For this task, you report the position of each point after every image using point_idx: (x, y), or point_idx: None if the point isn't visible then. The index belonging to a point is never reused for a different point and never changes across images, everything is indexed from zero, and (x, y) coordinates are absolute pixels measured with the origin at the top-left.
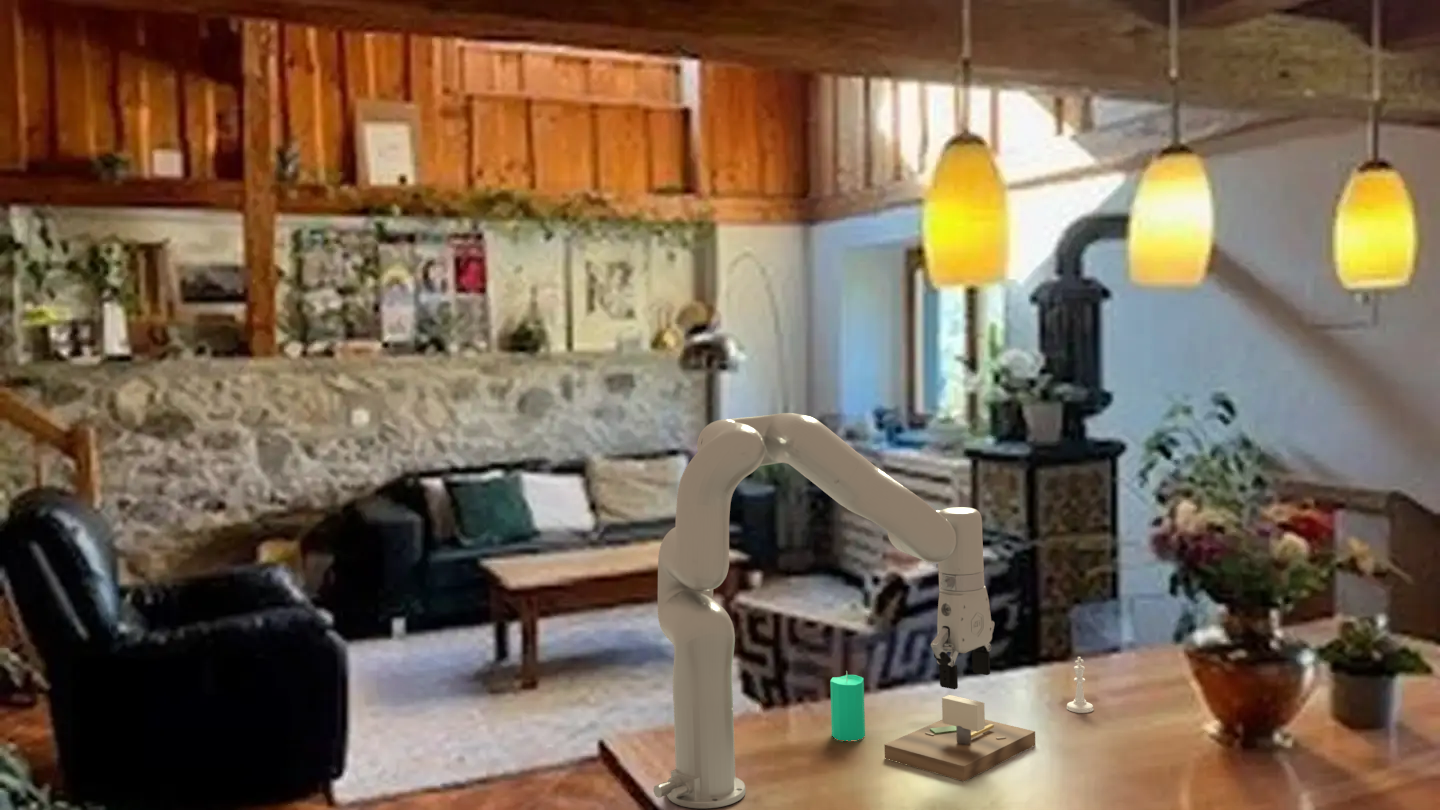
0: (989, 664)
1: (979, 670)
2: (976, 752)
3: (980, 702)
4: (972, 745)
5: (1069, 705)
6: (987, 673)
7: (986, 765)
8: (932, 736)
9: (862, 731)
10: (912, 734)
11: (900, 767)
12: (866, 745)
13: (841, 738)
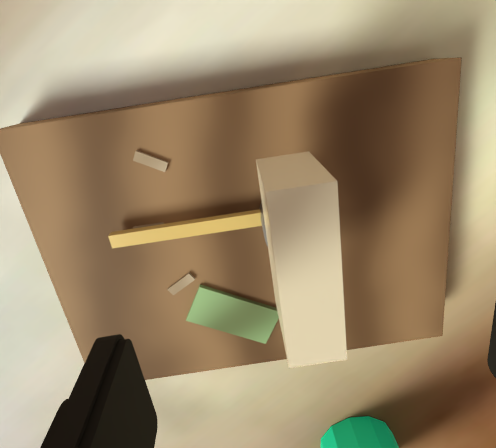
0: (78, 390)
1: (140, 399)
2: (320, 123)
3: (277, 207)
4: None
5: None
6: (122, 341)
7: (313, 78)
8: None
9: (355, 433)
10: None
11: (448, 251)
12: (375, 389)
13: (394, 437)
